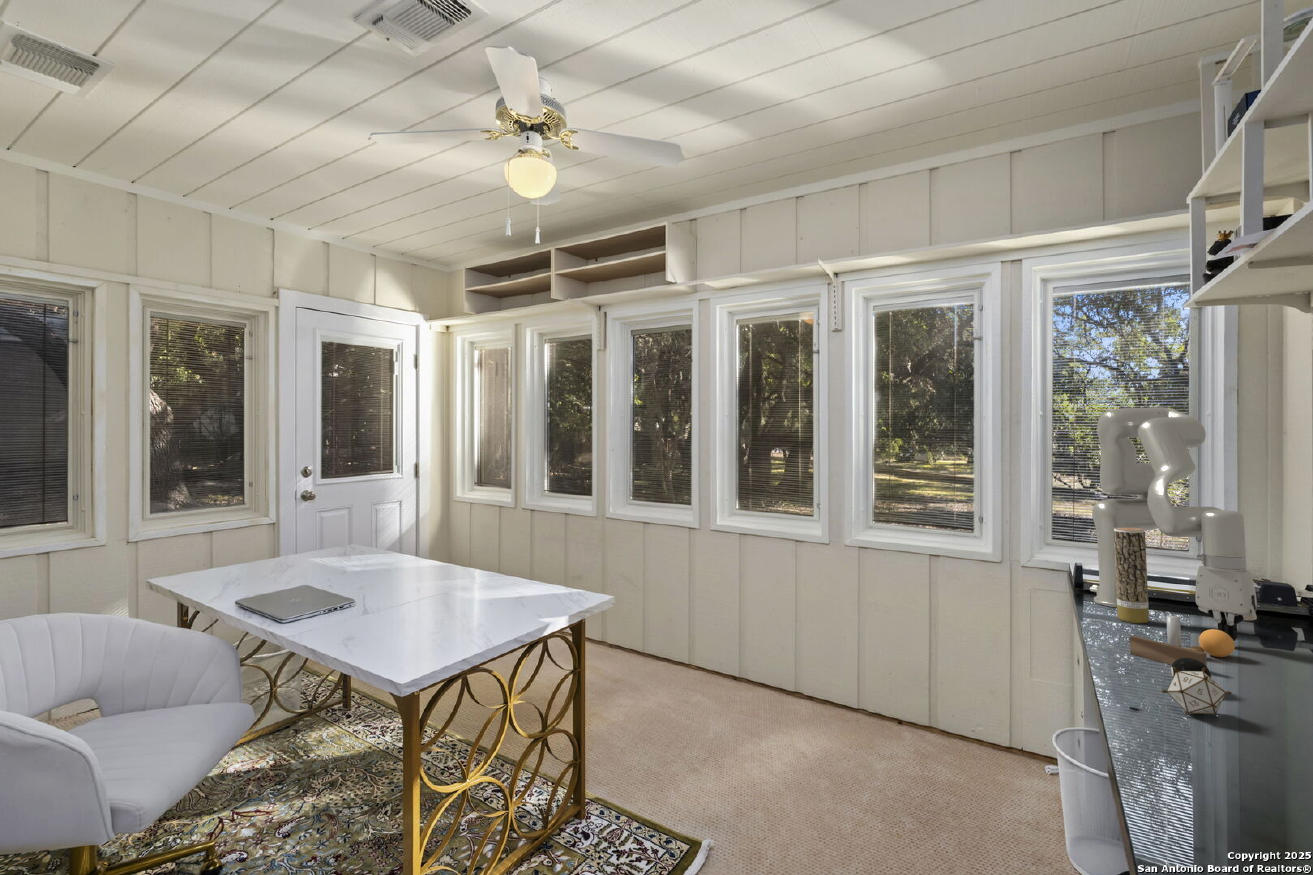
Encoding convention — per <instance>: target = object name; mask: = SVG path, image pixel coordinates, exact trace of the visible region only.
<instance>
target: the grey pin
mask: <svg viewBox="0 0 1313 875" xmlns="http://www.w3.org/2000/svg"><path fill="white" fill-rule="evenodd" d="M1181 630H1182V628H1181V617H1180V616H1176V615H1166V634H1167V635H1166V636H1167V637H1166V638H1167V644H1170V645H1175V646H1179V647H1182V634H1181V633H1182V632H1181Z"/></svg>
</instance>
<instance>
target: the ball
mask: <svg viewBox="0 0 1313 875" xmlns="http://www.w3.org/2000/svg"><path fill="white" fill-rule="evenodd" d="M1198 643H1199V646H1200V647H1201V648H1202V649H1203V650H1204V652H1205V653H1206V654H1208V655H1210V656H1212V657H1215V658H1225V657H1228V656H1230V655H1231V654H1233V652H1234V651H1235V642H1234V641H1233V639H1232V638H1231V637H1230V636H1229V635H1228V634H1227V633H1225V632H1223V631H1220V630H1218V629H1213V628H1211V629H1207V630H1204V631H1202V633H1200V635H1199V637H1198Z"/></svg>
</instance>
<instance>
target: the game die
mask: <svg viewBox="0 0 1313 875" xmlns="http://www.w3.org/2000/svg"><path fill="white" fill-rule="evenodd" d="M1173 669H1174V671H1176V672H1175V675H1174V677H1172V678H1171V681H1170V683H1169V685H1168V687H1167V689H1162V690H1160V692H1161V693H1163V694H1166V693H1167V694H1168V695H1169V696H1170V697H1171V698H1172V699H1173V700H1174V701H1175V702H1176V703H1177V704H1178V705H1179V706H1180V707H1181V708H1182V709H1183V710H1184V711H1185V712H1186V713H1185V714H1187V715H1189V716H1190V714H1204V715H1207V714H1208V715H1214V714H1215V715H1219V714H1218V713H1217V712H1218V710H1219V708H1220V706H1221V704H1222V703H1223V701H1224V698H1225V696H1226V695H1232V694H1233V692H1232V691H1230V690H1227V691H1225V689H1224V688H1222V687H1221V686H1220V685H1219V684H1218V683H1216V681H1215V680H1213V679H1212V677H1211V678H1210V677H1209V676H1208V675H1207V674H1206V673H1205V670H1206V669H1205V667H1204V668H1202V671H1178V670H1177V669H1176V668H1175V667H1173ZM1215 715H1214V716H1215Z"/></svg>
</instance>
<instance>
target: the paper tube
mask: <svg viewBox="0 0 1313 875" xmlns="http://www.w3.org/2000/svg"><path fill="white" fill-rule="evenodd" d="M1114 544H1115V567H1116V591H1117V608H1116V610H1117V611H1116V612H1117V618H1118V620H1120V621H1123V622H1126V623H1129V624H1130V623H1131V624H1147V623H1149V621H1150V616H1149V591H1148V590H1149V587H1148V565H1147V548H1146V547H1147V546H1146V545H1147V544H1146V530H1144V529H1138V528H1114Z"/></svg>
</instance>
